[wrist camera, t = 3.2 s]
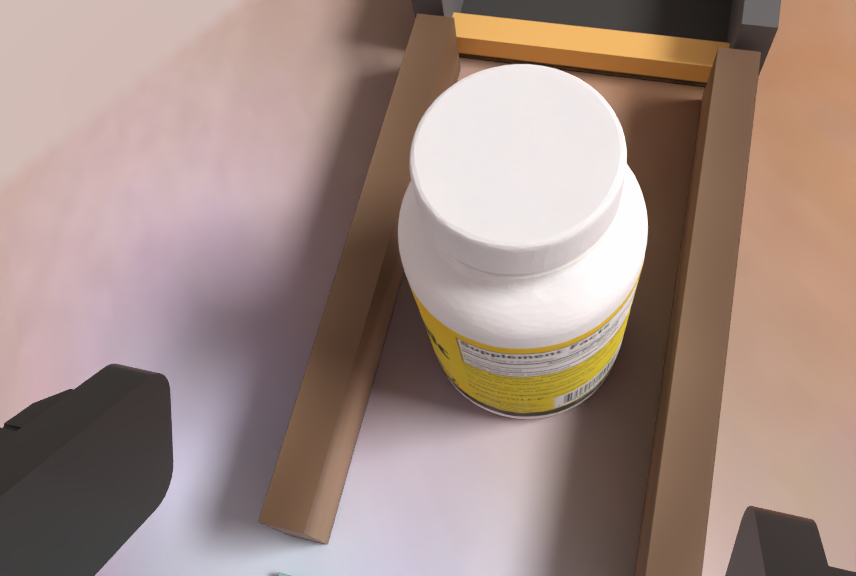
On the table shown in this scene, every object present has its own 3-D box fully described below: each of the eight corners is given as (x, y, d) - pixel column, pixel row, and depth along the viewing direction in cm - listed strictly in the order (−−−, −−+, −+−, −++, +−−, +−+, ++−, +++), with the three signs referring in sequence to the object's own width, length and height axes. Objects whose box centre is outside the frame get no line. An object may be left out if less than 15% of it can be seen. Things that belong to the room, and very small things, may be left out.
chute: (286, 533, 22) (258, 521, 20) (426, 64, 28) (417, 13, 26) (676, 632, 20) (695, 632, 18) (740, 103, 26) (760, 51, 24)
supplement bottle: (442, 246, 25) (392, 28, 16) (621, 254, 24) (673, 30, 15) (422, 416, 23) (352, 275, 14) (617, 432, 22) (674, 293, 13)
